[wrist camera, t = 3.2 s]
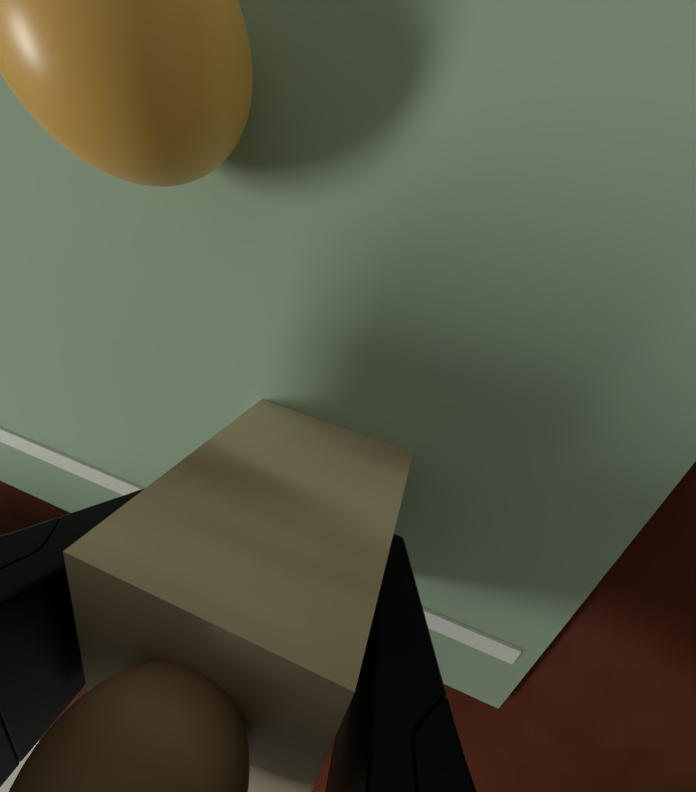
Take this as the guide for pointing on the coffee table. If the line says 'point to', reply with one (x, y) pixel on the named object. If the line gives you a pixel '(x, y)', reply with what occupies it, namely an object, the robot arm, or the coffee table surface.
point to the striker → (227, 613)
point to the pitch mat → (393, 291)
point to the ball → (133, 81)
